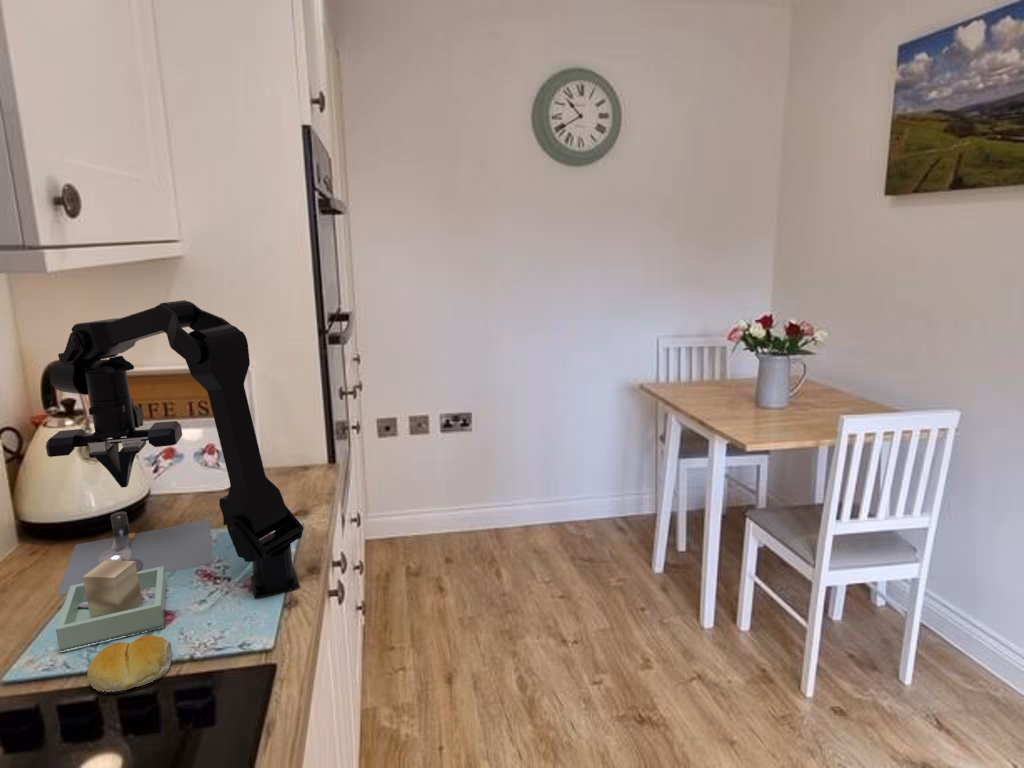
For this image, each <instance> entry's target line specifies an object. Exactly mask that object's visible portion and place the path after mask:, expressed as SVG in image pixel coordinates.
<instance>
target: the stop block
mask: <svg viewBox="0 0 1024 768" xmlns="http://www.w3.org/2000/svg"><path fill="white" fill-rule="evenodd" d="M83 581H84V587H85V592H86V597H87V601H86V602H87V607H89V613H90V618H96V617H100V616H104V615H109V614H113V613H117V612H122V611H126V610H130V609H135V608H139V607H141V605H142V604H143V599H142V594H141V593H142V592H141V589H140V586H139V580H138V575H137V569H136V563H135V561H106V560H105V561H104V562H102V563H101V564H100V565H98V566H97V567H96V568H94V569H93V570H91V571H90V572H89V573H87V574H86V575H85V576H83Z"/></svg>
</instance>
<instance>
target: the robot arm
mask: <svg viewBox="0 0 1024 768" xmlns="http://www.w3.org/2000/svg"><path fill="white" fill-rule="evenodd" d="M183 328H184V329H183ZM185 328H190V329H191V330H192V331H190V332H187V331H186V330H185ZM71 331H72V332H70V334H69V336H68V340H67V343H66V347H65V348H64V351H63V352H61V353H58V354H57V356H58V361H56V363H54V364H53V366H52V367H51V369H50V374H49V375H48V376H49V382H50V384H51V385H52V387H53V388H54V389H56V390H57V391H59V392H63V393H67V394H68V393H70V394H75V395H76V394H77V395H83V396H88V399H89V400H88V401H89V405H90V407H89V408H88V414H89V416H92V422H93V429H94V432H93V433H90V434H88V433H87V434H86V431H85V430H84V429H83V428H80V429H67V430H59V431H58V432H56V433H55V434H54V435H53V436H51V437H50V438H49V439H48V440H47V441H46V443H45V449H46V455H47V457H50V458H51V457H52V458H53V457H54V458H55V457H63V456H65V457H66V456H69V455H71V453H72V452H73V451H74V450H75V449H76V448H81V447H82V448H83V447H89V451H90V453H88V457H89V458H90V459H96V460H97V461H98V462H99V463H100V464H101V465H102V466H103V467H104V468H105V469H106V470H107V471H108V472H109V473H110V475H111V476H112V478H113V479H114V480H115V481H116V482H117V484H118V486H120V488H122V489H123V488H127V487H128V486H129V483H130V479H131V473H132V470H133V466H134V460H135V458H136V455H137V454H139V453H140V452H141V451H142V450H143V449H144V447H145V446H146V445H147V441H148V444H150V445H152V446H153V447H154V448H160V447H169V446H174V445H177V444H178V442H179V441H180V439H181V438H182V436H183V430H182V425H181V423H179V422H178V421H177V420H174V421H172V420H171V421H170V420H169V421H161V422H160V421H159V422H154V423H153V425H152V426H150V428H148V429H147V428H146V429H138V428H140V427H143V426H144V417H143V416H144V415H143V414H144V413H143V408H142V407H139V406H135V404H134V400H133V397H131V391H130V386H129V380H128V374H127V371H133V370H134V369H135V366H134V365H133V363H131V362H130V361H128V360H127V359H125V357H124V356H122V355H119V354H123V353H125V352H126V351H127V352H128V350H130V349H132V348H133V347H135V345H136V342H139V341H140V340H143V339H147V338H151V337H154V336H158V335H160V334H164V333H165V334H166V336H167V340H168V341H167V342H168V344H169V347H170V349H171V350H173V351H174V352H176V354H178V356H180V357H181V358H183V359H184V360H185V363H186V366H187V368H188V370H189V373H190V375H191V377H192V378H193V379H194V380H195V381H196V382H197V383H198V384H199V385H200V386H201V387H203V388H204V389H205V390H206V392H207V394H208V395H207V397H208V399H209V402H210V403H209V404H210V408H211V412H212V416H213V419H214V424H215V428H216V432H217V435H218V439H219V444H220V448H221V452H222V455H223V460H224V463H225V468H226V472H227V476H228V480H229V484H230V486H229V490H228V493H227V495H224V496H223V497H220V499H219V509H220V511H221V513H222V520H223V521H222V522H223V526H226V529H227V531H228V532H227V533H228V534H229V537H230V540H231V543H232V544H233V547H234V550H235V552H236V555H237V557H239V558H242V559H243V560H244V562H246V563H251V565H252V573H253V575H251V576H250V584H251V588H252V594H253V598H254V599H259V598H262V597H267V596H271V595H272V596H273V595H276V594H279V593H284V592H288V591H292V590H296V589H299V588H300V581H299V579H298V576H297V573H296V569H295V567H294V565H293V554H292V545H291V544H292V543H294V542H295V541H297V540H299V539H302V537H303V531H304V526H303V524H302V523H301V522H300V521H299V520H298V519H297V517H296V516H295V515H294V514H293V513H292V511H291V510H290V509H289V508H288V506H287V505H286V503H285V501H284V498H283V495H282V493H281V490H280V489H279V487H277V486H276V484H274V482H272V481H271V480H270V479H269V478H268V477H267V475H266V472H265V469H264V464H263V459H262V456H261V451H260V448H259V447H260V446H259V444H258V439H257V434H256V431H255V426H254V421H253V418H252V414H251V410H250V405H249V401H248V397H247V392H246V388H245V381H246V378H247V374H248V371H249V367H250V364H251V363H250V362H251V361H250V354H249V352H250V351H249V344H248V339H247V337H246V335H245V333H244V331H242V330H240V329H239V328H238V327H237V326H236V325H235V326H234V325H232V324H231V323H230V322H229V321H227V320H226V319H225V318H223V317H220V316H218V315H215V314H213V313H211V312H208V311H205V310H203V309H201V308H199V306H197V305H196V304H195V303H193V302H191V301H189V300H184V299H183V300H182V299H181V300H176V301H166V302H161V303H159V304H157V305H156V306H154V307H151V308H149V309H145V310H142V311H139V312H135V313H133V314H130V315H127V316H123V317H119V318H117V317H116V318H107V319H102V320H94V321H87V322H79V323H75V324H74V325H73V326H72V327H71ZM120 444H121V446H122V448H121V449H120V448H119V447H120V446H119V445H120Z"/></svg>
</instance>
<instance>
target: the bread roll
mask: <svg viewBox="0 0 1024 768" xmlns="http://www.w3.org/2000/svg"><path fill="white" fill-rule="evenodd" d="M172 654H173V651H172V643H171V642H170V641H168V640H167V639H165V638H164V637H162V636H157V635H143V636H140V637H138V638H136V639H134V640H133V641H132V642H124V641H123V642H120V641H119V642H114V643H111V644H109V645H107V646H106V647H104V648H103V649H102V650H100V651H99V652H98V653H97V654H96V655H95V656H94V657H93V659H92V660H91V662H90V663H89V666H88V669H87V679H88V682H89V685H91V687H92V688H93V689H94V690H95V689H96V690H95V691H97V690H98V691H97V692H100V691H102V692H104V691H106V692H111V691H112V692H115V691H121V690H127V689H129V690H130V689H132V688H134V687H139V686H142V685H145V684H148V683H150V682H152V683H154V682H155V681H154V680H156V679H157V680H159V679H161V678H162V677H163V676H165V675H166V673H167V672H168V671H169V669H170V667H171V664H172V659H171V658H172V657H173V656H172ZM158 678H159V679H158ZM157 680H156V681H157ZM153 681H154V682H153ZM150 684H151V683H150ZM148 685H149V684H148ZM134 689H135V688H134ZM102 692H101V693H102Z"/></svg>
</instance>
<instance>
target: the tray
mask: <svg viewBox="0 0 1024 768" xmlns="http://www.w3.org/2000/svg"><path fill="white" fill-rule="evenodd" d="M137 575H138V580H139V586H140V590H143V589H148V588H153V587H155V591H154V592H155V593H154V603H152V604H148V605H144V606H138V607H137V608H135V609H130V610H126V611H122V612H117V613H113V614H109V615H104V616H100V617H96V618H90V613H89V607H88V606H87V607H85V606H84V607H83V606H82V607H81V606H79V605H80V603H85V602H87V597H86V592H85V587H84V583H81V584H76V585H71V586H70V589H69V592H68V594H66V596H65V601H64V603H63V607H62V610H61V613H60V615H59V618H58V620H57V621H58V622H57V625H56V627H55V633H56V638H57V644H58V648H59V652H60V651H64V650H67V649H71V648H75V647H79V646H84V645H88V644H92V643H96V642H101V641H106V640H109V639H114V638H119V637H122V636H128V635H132V634H137V633H142V632H145V631H150V630H153V629H158V628H161V627H164V628H165V626H164V622H165V621H166V610H165V609H166V608H165V603H166V602H165V601H166V587H167V586H166V585H167V578H166V573H165V571H164V566H162V567H157V568H153V569H148V570H143V571H138V572H137ZM165 623H166V622H165Z"/></svg>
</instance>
